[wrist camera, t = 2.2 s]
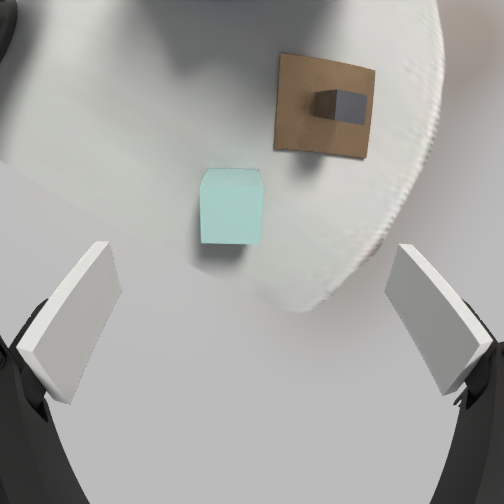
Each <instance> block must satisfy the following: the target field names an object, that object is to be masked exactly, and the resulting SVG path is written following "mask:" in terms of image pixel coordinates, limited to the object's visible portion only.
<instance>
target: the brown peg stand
mask: <svg viewBox="0 0 504 504" xmlns="http://www.w3.org/2000/svg"><path fill="white" fill-rule="evenodd" d="M374 82H375V70H371V69H367V68H363V67H359V66H355V65H350V64H346V63H341V62H336V61H331V60H325V59H320V58H313V57H307V56H299V55H291V54H282V53H281V54H280V66H279V83H278V99H277V114H276V129H275V143H274V148H276V149H290V150H302V151H312V152H322V153H331V154H339V155H347V156H354V157H361V158H366V156H367V149H368V141H369V134H370V125H371V116H372V106H373V95H374Z"/></svg>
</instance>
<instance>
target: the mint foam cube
mask: <svg viewBox="0 0 504 504" xmlns="http://www.w3.org/2000/svg"><path fill="white" fill-rule="evenodd" d="M263 195H264V186H263V182H262V179H261V175H260V172H259V170H256V169H221V168H208V170H207V172H206V174H205V176H204V178H203V180H202V182H201V184H200V227H201V243H216V244H256V245H260V238H261V224H262V209H263Z"/></svg>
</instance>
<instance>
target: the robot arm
mask: <svg viewBox="0 0 504 504" xmlns="http://www.w3.org/2000/svg"><path fill="white" fill-rule="evenodd" d="M16 18H17V4H16V1H15V0H0V61H1V60H2V58H3V56H4V54H5V52H6V50H7V47H8V45H9V43H10V40H11V37H12V34H13V31H14V28H15V24H16ZM121 293H122V290H121V286H120V283H119V279H118V275H117V271H116V267H115V263H114V258H113V254H112V250H111V245H110V242H95V243H94V244H93V245H92V246H91V248H90V249H89V250H88V251H87V252H86V253H85V254H84V256H83V257H82V258H81V259H80V260H79V262H78V263H77V264H76V266H74V268H73V269H72V270H71V271H70V273H69V274H68V275H67V276H66V277H65V279H64V280H63V281H62V283H61V284H60V285H59V286H58V288H57V289H56V290H55V292H54V293H53V294H52V296H51V297H50V298H49V299H46V300H44V301H43V302H42V303H41V304H40V305H38V306H37V307H36V309H35V310H34V311H33V313H32V314H31V317H29V318H28V320H27V321H26V324H25V325H24V326H23V327H22V329H21V330H20V332H19V333H18V335H17V336H16V338H15V339H14V341H13V342H12V344H11V345H10V347H9V349H8V347H7V346H6V344H5V343H4V341H3V340H2V338H1V336H0V504H90V503H89V502H88V500H87V498H86V496H85V494H84V492H83V490H82V489H81V486H80V484H79V483H78V480H77V478H76V476H75V474H74V472H73V470H72V468H71V466H70V464H69V461H68V459H67V456H66V454H65V452H64V449H63V447H62V444H61V442H60V439H59V436H58V434H57V431H56V428H55V425H54V422H53V419H52V416H51V413H50V410H49V406H48V403H47V401H46V399H45V398H44V395H45V393H46V391H47V392H48V393H49V394H50V396H51V397H52V398H53V399H54V400H56V401H59V402H62V403H66V404H69V405H70V404H71V402H72V399H73V397H74V394H75V392H76V389H77V387H78V384H79V382H80V379H81V377H82V375H83V372H84V370H85V368H86V365H87V363H88V361H89V358H90V356H91V354H92V352H93V349H94V347H95V345H96V343H97V341H98V339H99V337H100V334H101V332H102V330H103V328H104V326H105V324H106V322H107V320H108V318H109V316H110V314H111V312H112V310H113V308H114V306H115V304H116V302H117V300H118V299H119V297H120V295H121ZM385 293H386V295H387V297H388V298H389V300H390V302H391V303H392V305H393V307H394V308H395V310H396V311H397V313H398V315H399V316H400V318H401V320H402V321H403V323H404V325H405V327H406V328H407V330H408V332H409V333H410V335H411V337H412V339H413V340H414V342H415V344H416V346H417V348H418V349H419V351H420V353H421V355H422V357H423V359H424V360H425V362H426V364H427V366H428V368H429V370H430V372H431V374H432V376H433V378H434V380H435V382H436V384H437V385H438V388H439V390H440V392H441V394H442V396H444V395H447V394H450V393H452V392H455V391H457V390H458V388H459V387H460V386H461V385H462V383H463V382H464V381H465V383H466V385H467V387H466V388H465V390H464V391H463V392H462V393H461V394H460V395H459V397H458V398H457V399H456V400H455V402H454V404H453V405H456V404H457V403H458V402H459V401H460V400H461V399H462V401H461V404H460V405H459V407H460V411H459V415H458V420H457V424H456V428H455V432H454V436H453V440H452V443H451V447H450V450H449V454H448V457H447V460H446V463H445V466H444V469H443V472H442V474H441V477H440V480H439V482H438V485H437V488H436V490H435V493H434V495H433V498H432V500H431V502H430V504H504V342H500V343H498V342H497V340H496V339H495V338H494V336H493V335H492V333H491V332H490V331H489V329H488V328H487V327H486V325H485V324H484V323H483V321H482V320H480V318H479V316H478V315H477V314H475V311H474V310H473V309H472V308H471V306H470V305H469V304H468V303H467V302H465V301H464V300H463V299H461V298H460V297H459V296H458V295H457V294H456V292H455V291H454V290H453V289H452V288H451V287H450V285H449V284H448V283H447V282H446V281H445V280H444V279H443V277H442V276H441V275H440V274H439V273H438V272H437V271H436V270H435V269H434V267H433V266H432V265H431V264H430V263H429V262H428V261H427V260H426V259H425V258H424V257H423V256H422V255H421V254H420V253H419V252H418V251H417V250H416V249H415V247H414V246H413V245H412V244H399V245H398V249H397V252H396V256H395V259H394V263H393V266H392V269H391V273H390V276H389V279H388V282H387V285H386V288H385Z"/></svg>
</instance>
